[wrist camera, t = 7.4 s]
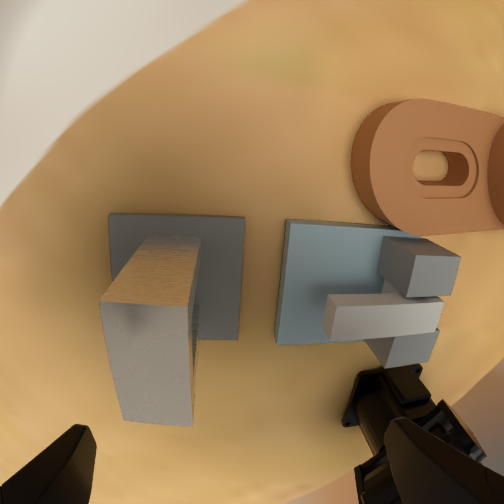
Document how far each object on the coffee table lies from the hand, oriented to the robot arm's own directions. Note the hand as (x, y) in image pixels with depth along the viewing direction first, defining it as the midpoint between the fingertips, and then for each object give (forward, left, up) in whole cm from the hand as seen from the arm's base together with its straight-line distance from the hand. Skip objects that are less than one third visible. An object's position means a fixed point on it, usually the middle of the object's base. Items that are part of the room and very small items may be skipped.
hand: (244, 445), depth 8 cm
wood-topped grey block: (0, +3, -12) cm, 12 cm away
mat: (0, +3, -13) cm, 13 cm away
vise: (0, -8, -13) cm, 15 cm away
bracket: (+9, -16, -13) cm, 22 cm away
